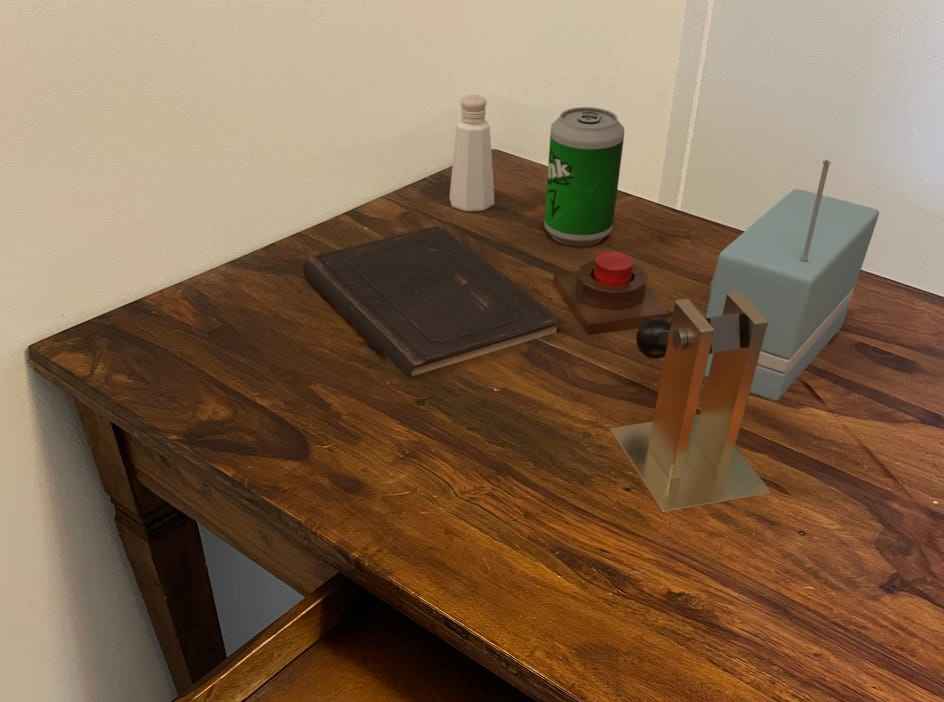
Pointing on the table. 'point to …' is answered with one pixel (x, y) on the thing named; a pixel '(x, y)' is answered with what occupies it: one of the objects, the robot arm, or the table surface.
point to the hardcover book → (427, 299)
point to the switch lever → (657, 332)
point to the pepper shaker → (472, 158)
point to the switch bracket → (706, 434)
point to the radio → (795, 279)
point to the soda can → (583, 175)
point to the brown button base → (608, 300)
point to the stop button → (613, 268)
